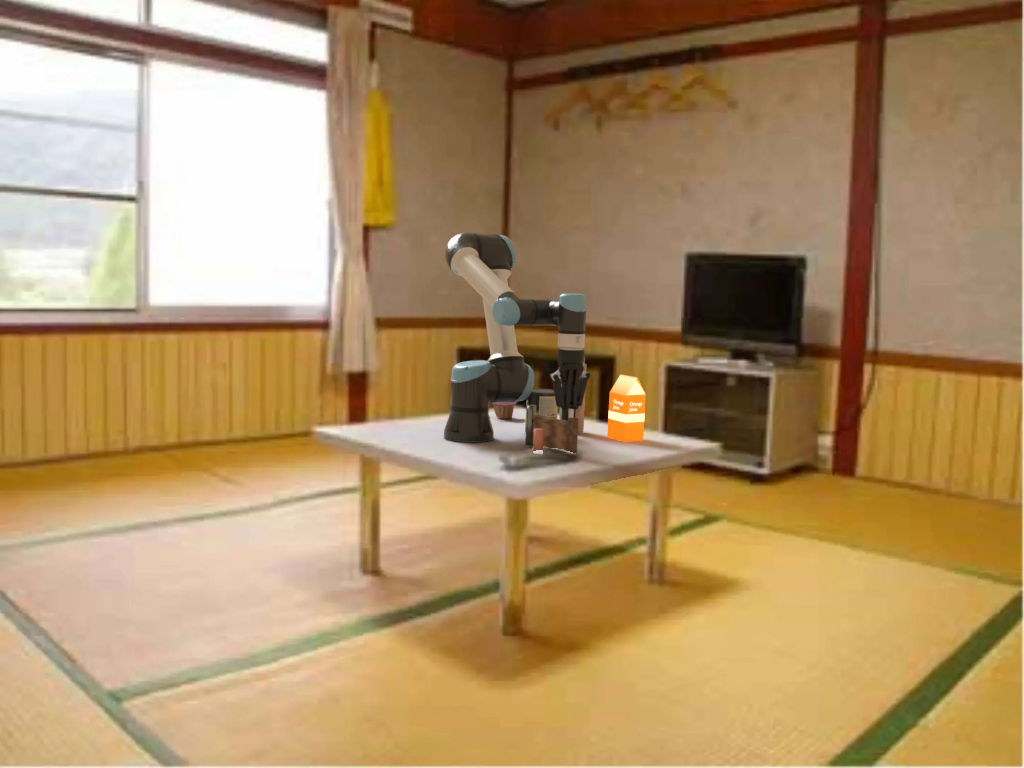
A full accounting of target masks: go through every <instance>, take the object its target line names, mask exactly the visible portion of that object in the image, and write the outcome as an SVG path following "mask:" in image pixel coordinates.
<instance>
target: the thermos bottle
mask: <svg viewBox="0 0 1024 768" xmlns="http://www.w3.org/2000/svg"><path fill="white" fill-rule="evenodd" d="M582 350H584V348H582ZM585 361H586V358H585V356H584V362H583V367H584V371H586V372H587V363H585ZM579 378H580V377H579ZM561 386H562V384H561ZM585 407H586V392H585V393H584V398H583V402H582V405H581V406H579V407H578V409H576V413H575V418H579V419H578V435H582V434H584V430H585V429H584V427H585V425H584V424H585ZM559 420H562V408H560V407H559ZM563 421H564V420H563Z"/></svg>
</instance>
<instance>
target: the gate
mask: <svg viewBox="0 0 1024 768" xmlns="http://www.w3.org/2000/svg"><path fill="white" fill-rule="evenodd" d="M578 419H579V418H575V417H572V418H568V422H567V421H563V420H559V419H558V418H557V419H554V418H550V417H546V416H542V415H533V416H532V420H533V435H532V444H533V436H534V429H535V428H541V429H544V448H546V449H547V448H548V449H551V448H558V449H564V450H566V451H570V452H573V453H576V454H578V441H579V440H578V438H579V437H578V435H579V434H578ZM576 454H575V455H576Z"/></svg>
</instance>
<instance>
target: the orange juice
mask: <svg viewBox="0 0 1024 768" xmlns="http://www.w3.org/2000/svg"><path fill="white" fill-rule="evenodd" d="M646 396H647V395H646V391H645V390H644V388H643V386H642V384H641V382H640V380H639V378H638V377H637V376H633V375H626V374H621V373H620V375H619V377H618V378H617V380H616V381H615V382H614V384H613V386H612V388H611V389H610V391H609V397H608V398H609V399H608V400H609V401H608V403H609V404H608V413H607V414H608V416H607V417H608V418H607V438H609V439H613V440H617V441H619V442H620V441H621V442H624V443H627V442H628V443H629V442H639V441H640V442H641V441H644V433H645V432H644V429H645V415H646Z"/></svg>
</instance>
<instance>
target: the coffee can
mask: <svg viewBox="0 0 1024 768" xmlns="http://www.w3.org/2000/svg"><path fill="white" fill-rule="evenodd" d="M525 400H526V402H525V403H526V404H525V417H526V416H527V405H536V415H542V416H546V417H550V418H554V419H558V410H559V407H558V406H556V400H555V395H554V389H551V388H533V390H532V391H531V394H530V395H529V397H528V398H527V399H525ZM524 423H525V427H524V435H526V420H525V422H524Z"/></svg>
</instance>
